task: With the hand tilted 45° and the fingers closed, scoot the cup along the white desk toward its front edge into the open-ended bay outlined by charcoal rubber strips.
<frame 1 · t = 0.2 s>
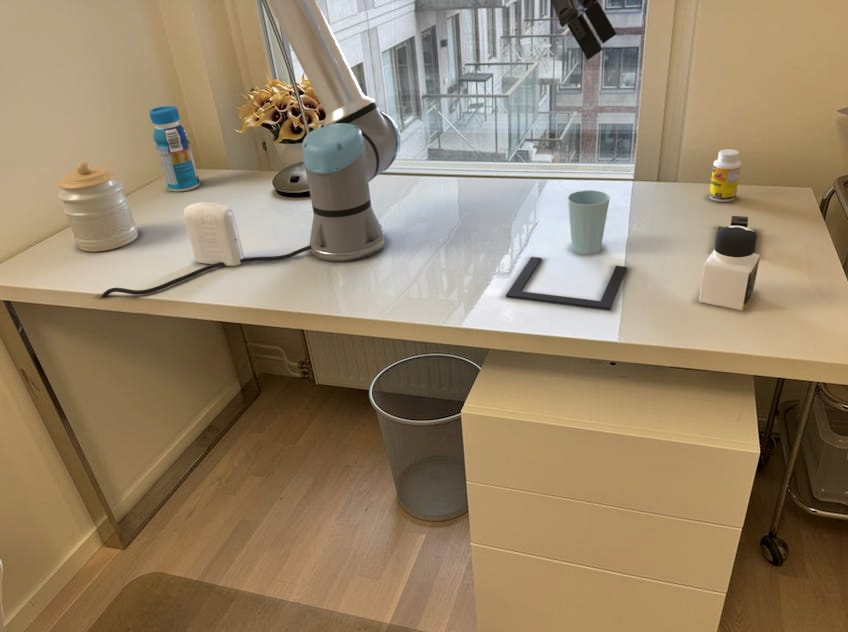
hand: (602, 46, 120), 36 cm above the table, tool tilted 35°, fingers open, 13 cm apart
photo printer: (221, 262, 142), on the table
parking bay: (569, 280, 125), on the table
jar: (109, 241, 156), on the table
cup: (586, 249, 136), on the table
beverage bottle: (184, 187, 184), on the table
medicine bottle: (725, 298, 116), on the table
build plate: (735, 243, 134), on the table
supplement bottle: (721, 199, 153), on the table
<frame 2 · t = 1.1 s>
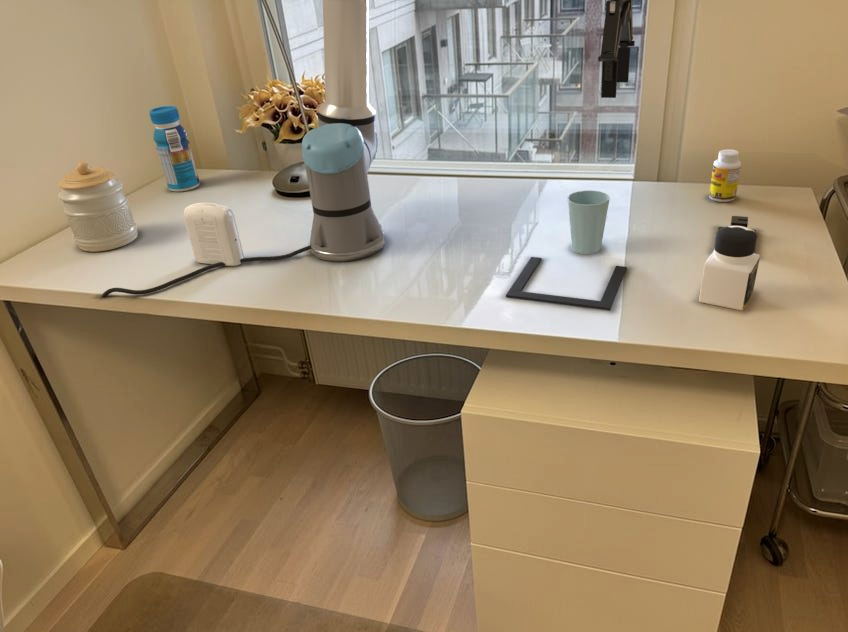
hand: (615, 89, 138), 25 cm above the table, tool pointing down, fingers open, 12 cm apart
nothing on the table moved.
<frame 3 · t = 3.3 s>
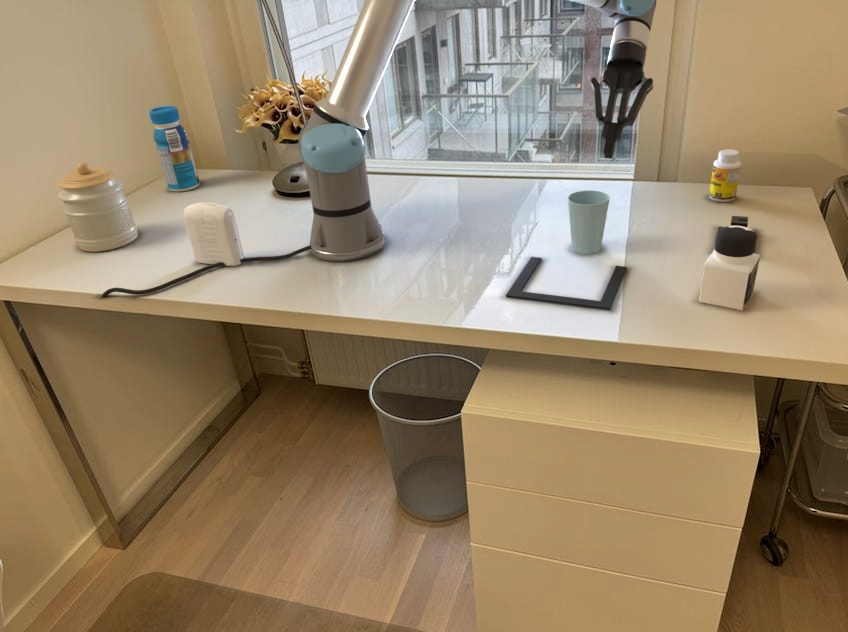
hand: (607, 154, 142), 13 cm above the table, tool tilted 45°, fingers closed
nothing on the table moved.
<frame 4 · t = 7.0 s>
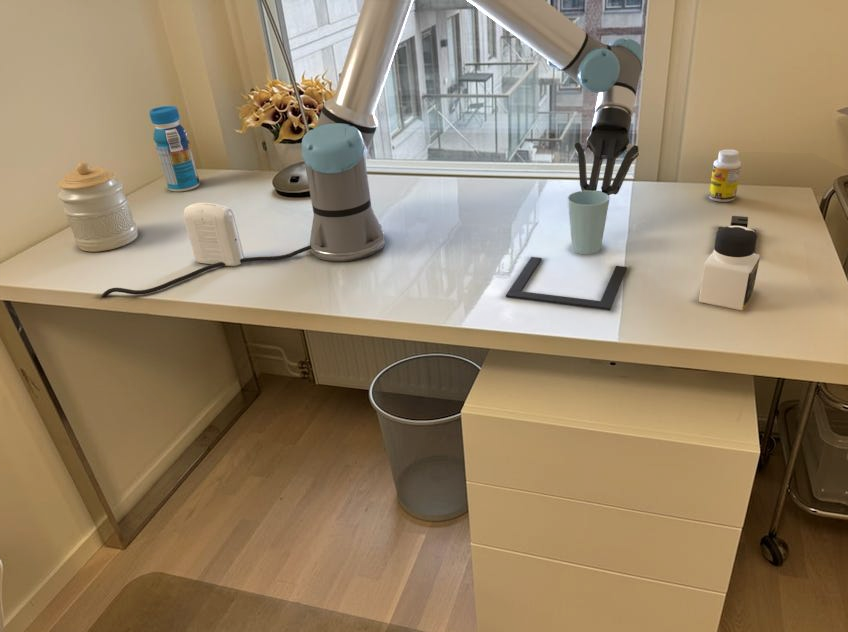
hand: (592, 224, 138), 3 cm above the table, tool tilted 45°, fingers closed
cup: (586, 249, 136), on the table, touching gripper
everything else where it was.
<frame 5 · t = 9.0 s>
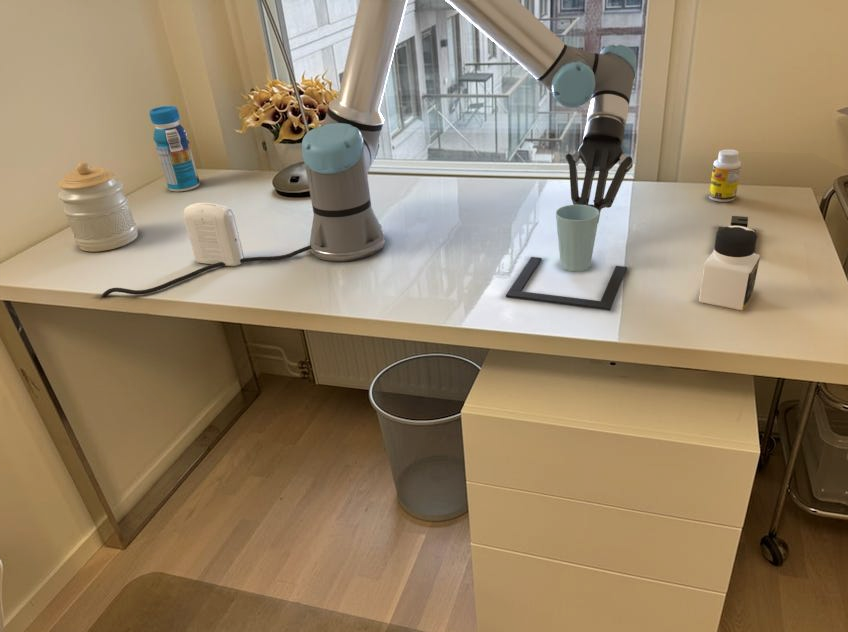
hand: (584, 239, 132), 3 cm above the table, tool tilted 45°, fingers closed
cup: (575, 266, 130), on the table, touching gripper
everything else where it was.
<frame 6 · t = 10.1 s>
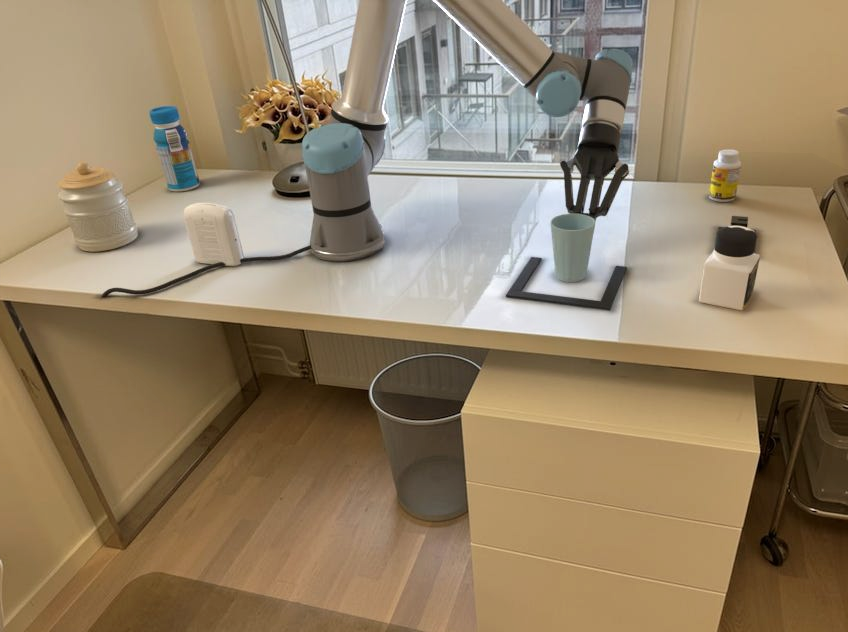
hand: (579, 248, 128), 3 cm above the table, tool tilted 45°, fingers closed
cup: (570, 276, 127), on the table, touching gripper
everything else where it was.
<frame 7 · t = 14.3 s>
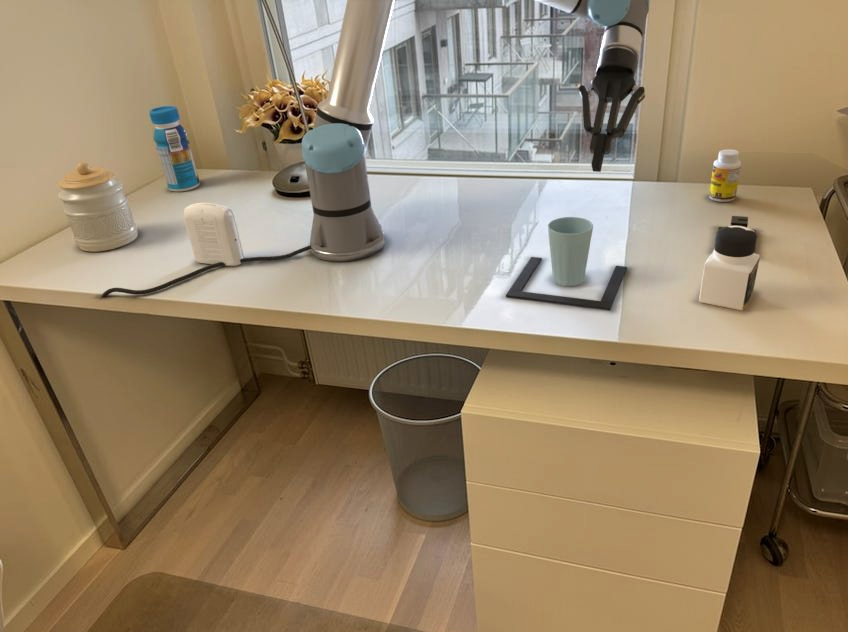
hand: (596, 168, 133), 14 cm above the table, tool tilted 45°, fingers closed
cup: (568, 280, 126), on the table
everything else where it was.
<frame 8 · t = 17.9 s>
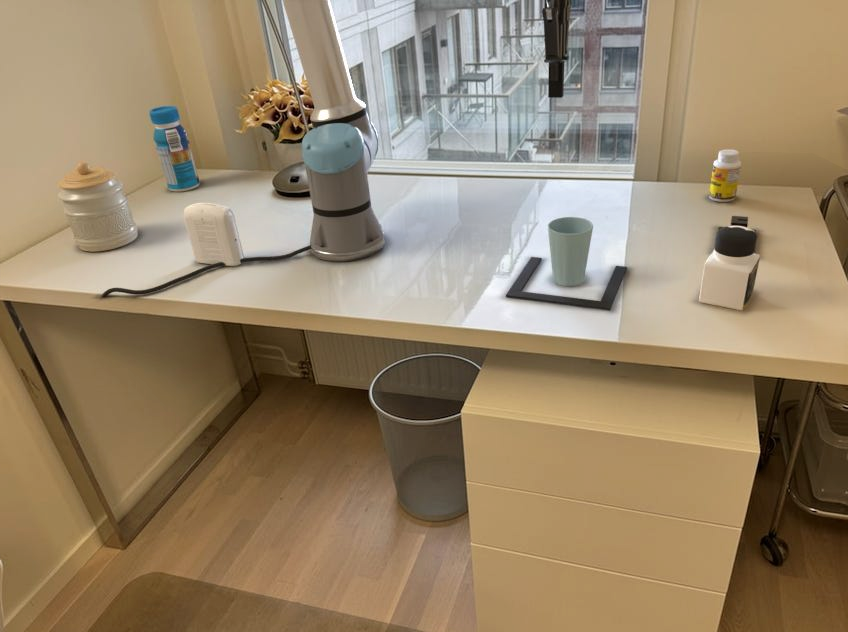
hand: (555, 96, 139), 24 cm above the table, tool pointing down, fingers closed
nothing on the table moved.
at the end: cup inside the target area on the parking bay (0.4 cm from its centre), point 0.0 cm above the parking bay's base; cup tilted 0°; cup moved 13.7 cm from its start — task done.
